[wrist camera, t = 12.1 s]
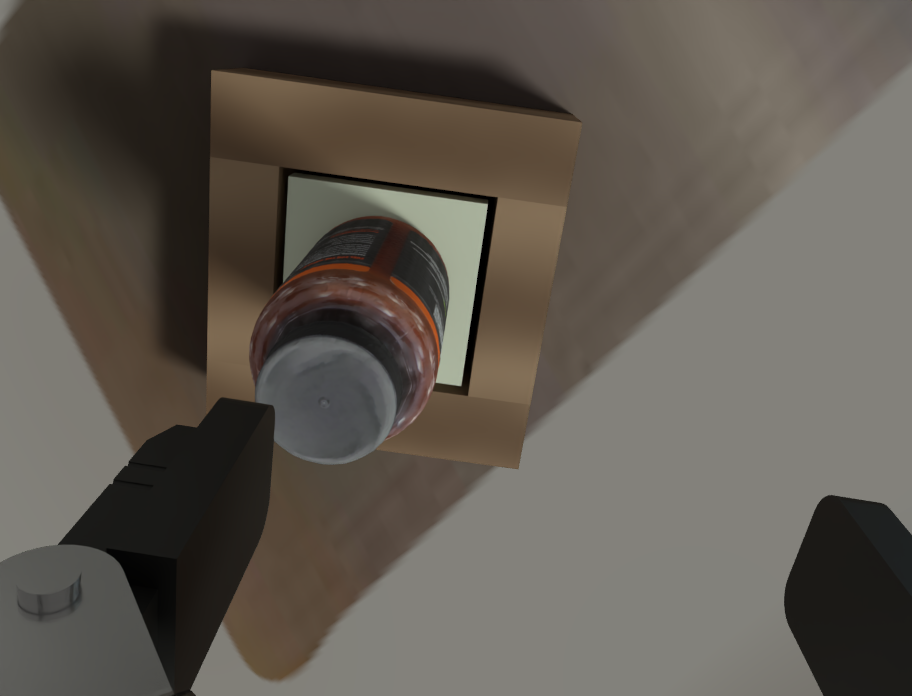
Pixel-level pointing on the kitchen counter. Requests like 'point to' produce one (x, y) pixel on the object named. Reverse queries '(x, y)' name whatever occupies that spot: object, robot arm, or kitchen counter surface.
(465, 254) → the plate
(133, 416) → the kitchen counter surface
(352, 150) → the wooden tray
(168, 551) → the robot arm
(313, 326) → the supplement bottle
